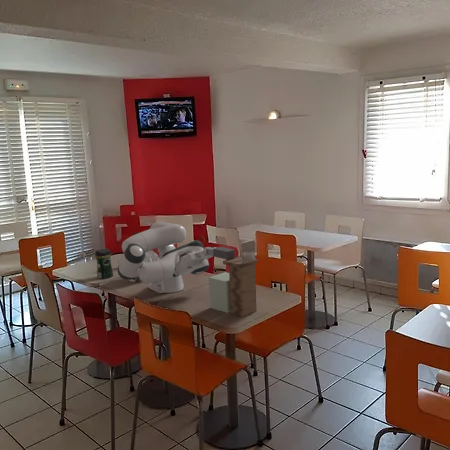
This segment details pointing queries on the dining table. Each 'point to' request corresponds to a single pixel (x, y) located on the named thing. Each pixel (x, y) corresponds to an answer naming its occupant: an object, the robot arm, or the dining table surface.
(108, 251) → the coffee jar
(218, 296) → the sage step
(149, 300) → the dining table surface
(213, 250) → the plug
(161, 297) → the dining table surface
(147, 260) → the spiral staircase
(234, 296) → the brown wooden tower
